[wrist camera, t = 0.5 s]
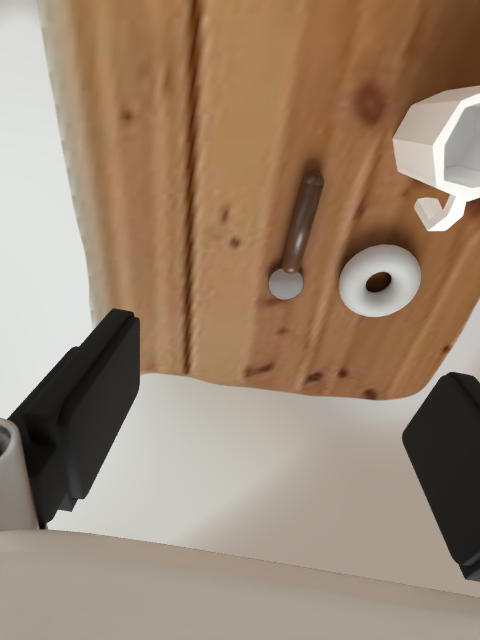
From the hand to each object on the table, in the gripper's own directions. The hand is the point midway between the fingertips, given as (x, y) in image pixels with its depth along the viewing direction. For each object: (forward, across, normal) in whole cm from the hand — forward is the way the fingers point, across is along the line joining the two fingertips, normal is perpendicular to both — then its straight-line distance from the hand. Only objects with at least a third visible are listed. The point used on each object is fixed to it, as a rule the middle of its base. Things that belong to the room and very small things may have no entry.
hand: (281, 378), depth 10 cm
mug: (+32, -16, -7) cm, 37 cm away
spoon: (+32, -4, +6) cm, 33 cm away
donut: (+33, -16, +8) cm, 37 cm away
